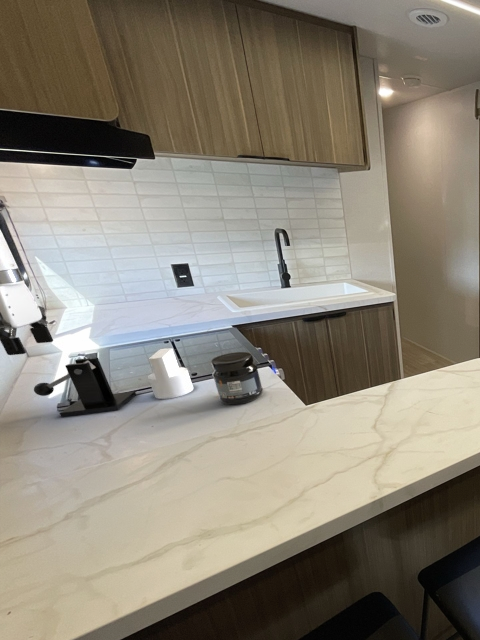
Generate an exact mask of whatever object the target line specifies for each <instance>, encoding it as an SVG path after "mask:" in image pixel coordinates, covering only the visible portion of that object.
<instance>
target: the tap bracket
mask: <svg viewBox="0 0 480 640" xmlns="http://www.w3.org/2000/svg"><path fill="white" fill-rule="evenodd" d="M87 360H88V361H90V362H91V363H92V364H93V365H94V366H95V367H96V368H94V369H93V370H92V369H91V366H90V364H89V362H88V363H84V362H86V361H87ZM74 362H75V363H68V364H66V365H65V368H66V371H67V373H68V374H69V375H70V377H71V378H70V379H71V381H72V384H73V386H74V388H75V391H76V393H77V395H78V398H79V399H78V400H76V401H75V402H73V403H72V404H71V405H69V406H68V407H66V408H64V409H63V410H62V411H60V412H59V415H60V417H61V418H65V417H73V416H74V417H75V416H81V415H89V414H98V413H105V412H106V413H107V412H115V411H119V410H120V409H122V408H123V407H124V406H125V405H126V404H128V403H129V402H130V401H131V400H132V399H133V398H135V397H136V396H137V393H136V391H135V390H133V391H125V392H117V393H114V392H113V390H112V388H111V386H110V384H109V381H108V379H107V376H106V374H105V371H104V369H103V367H102V364H101V362H100V359H99V357H98V356H97V357H86V358H77V359H75V360H74Z"/></svg>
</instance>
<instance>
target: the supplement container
mask: <svg viewBox="0 0 480 640" xmlns="http://www.w3.org/2000/svg"><path fill="white" fill-rule="evenodd" d="M210 364H211V366H212V369H213V370H212V372H211V376H212V377H213V380H214V383H215V386H216V390H217V394H218V397H219V398H218V399H219V400H220V401H221V402H222V403H223V404H226V405H231V406H232V405H241V404H246V403H249V402H253V401H255V400H257V399H258V398H260V397H261V396H262V395H263V392H264V388H263V386H262V385H263V384H262V382H261V378H260V373H259V370H258V365H257V364H256V363H255V362H254V357H253V354H252V353H250V352H247V351H237V352H230V353H225V354H221V355H218V356H216V357H214V358H212V359H211V360H210Z"/></svg>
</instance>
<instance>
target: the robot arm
mask: <svg viewBox="0 0 480 640" xmlns="http://www.w3.org/2000/svg"><path fill="white" fill-rule="evenodd" d="M26 326H29V327H30V328H29V330H30V332H31V334H32V336H33V339H34V340H35V342H36V344H46V343H52V342H53V341H54V339H53V337H52V335H51V332H50V330H49V328H48V322H47V316H46V310H45V307H43V306H40V305H38V303H37V301H36V299H35V297H34V296H33V294H32V292H31V290H30V289H29V287H28V286H27V285H26V282H25V279H24V278H23V275H22V272H21V271H20V268H19V266H18V264H17V261H16V260H15V258H14V255H13V253H12V251H11V249H10V247H9V244H8V242H7V240H6V239H5V236H4V234H3V232H2V229H0V344H1V345H2V348H3V349H4V351H5V352H6V354H7V355H8V356H16V355H17V356H18V355H24V354H26V353H27V350H26V349H25V346H24V344H23V342H22V341H21V338H20V337H19V336H18V337H17V330H18V329H20V328H23V327H26ZM6 330H7V331H6Z"/></svg>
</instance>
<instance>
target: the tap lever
mask: <svg viewBox="0 0 480 640" xmlns="http://www.w3.org/2000/svg"><path fill="white" fill-rule="evenodd" d="M88 362H89V364H90V366H91V369H92V370H93V369H94V368H96V367H95V366H94V365H93V364H92V363H91V362H90V361H88V360H87V361H86V362H84V363H88ZM70 379H71V377H70V375H69V373H68V374H65V375H64V376H61V377H60V378H58V379H56V380H54V381H52V382H50V383H49V382H40V383H37V384H35V386H34V387H33V392H34V393H35V394H36V395H38V396H41V397H47V396H50V395H51V394H52V393H53V392H54V391H55V388H54V387H56V386H58V385H59V384H61V383H63V382H65V381H67V380H70Z"/></svg>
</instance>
